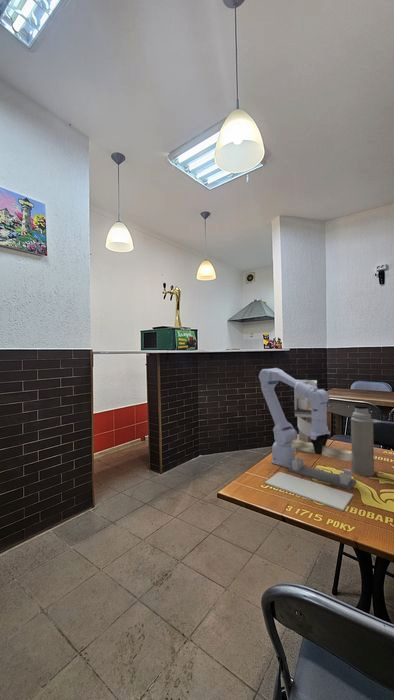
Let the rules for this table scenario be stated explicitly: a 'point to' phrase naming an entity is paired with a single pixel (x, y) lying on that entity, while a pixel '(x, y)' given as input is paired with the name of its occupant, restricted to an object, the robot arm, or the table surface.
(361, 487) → the table surface
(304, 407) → the display case
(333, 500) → the mat
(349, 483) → the rack
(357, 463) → the thermos bottle
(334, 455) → the rail
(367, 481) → the table surface
